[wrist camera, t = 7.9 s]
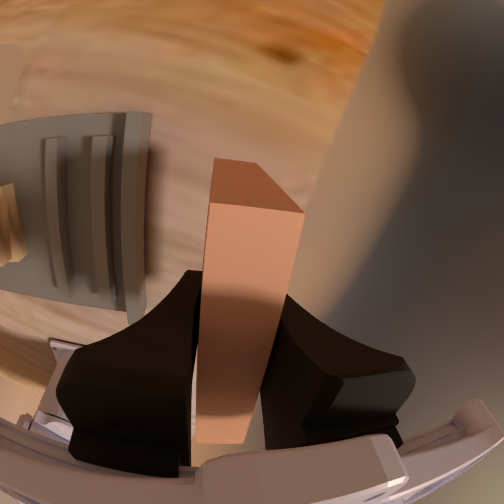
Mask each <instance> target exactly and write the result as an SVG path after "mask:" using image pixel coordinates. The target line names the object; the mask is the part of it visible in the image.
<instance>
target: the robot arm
mask: <svg viewBox="0 0 504 504" xmlns="http://www.w3.org/2000/svg"><path fill="white" fill-rule="evenodd" d="M202 274H203V271H194V270H187V271H186V272H185V273H184V275H183V276H182V278H181V279H180V281H179V282H178V283H177V285H176V286H175V287H174V288H173V289H172V290H171V292H170V293H169V294H168V295H167V296H166V297H165V298H164V299H163V300H162V301H161V302H160V303H159V304H158V305H157V306H156V307H155V308H154V309H152V310H151V311H150V312H149V313H148V314H146V315H145V316H144V317H143V318H141V319H140V320H138V321H137V322H135V323H133V324H132V325H130V326H129V327H127V328H125V329H124V330H122V331H120V332H118V333H116V334H114V335H112V336H110V337H107V338H105V339H103V340H100V341H98V342H95V343H92V344H89V345H86V346H79V345H75V344H70V343H65V342H61V341H57V340H51V341H50V346H51V349H52V351H53V354H54V356H55V359H56V361H57V365H56V367H55V370H54V372H53V374H52V376H51V378H50V381H49V383H48V385H47V387H46V390H45V392H44V394H43V397H42V399H41V401H40V404H39V406H38V409H37V411H36V413H35V415H34V417H33V419H32V416H31V415H30V414H28V413H27V414H26V415H20V417H19V419H18V422H17V424H16V425H15V424H13V423H11V422H9V421H7V420H5V419H3V418H0V490H1V491H3V492H5V493H7V494H8V495H10V496H12V497H14V499H15V500H16V501H17V503H18V504H411V503H413V502H415V501H417V500H419V499H420V498H422V497H424V496H426V495H428V494H430V493H431V492H433V491H435V490H437V489H438V488H440V487H442V486H443V485H445V484H447V483H448V482H450V481H452V480H453V479H455V478H456V477H457V476H459V475H461V474H462V473H464V472H465V471H467V470H468V469H469V468H471V467H472V466H473V465H475V464H476V463H477V462H478V461H480V460H481V459H482V458H483V457H484V456H486V455H487V454H488V453H489V452H490V451H491V450H492V449H494V448H495V447H496V446H497V445H498V444H499V443H500V442H501V441H502V440H503V439H504V433H503V432H502V430H501V429H500V427H499V425H498V424H497V423H496V421H495V419H494V418H493V416H492V415H491V414H490V412H489V411H488V409H487V408H486V406H485V405H484V403H483V402H482V400H481V399H480V398H477V399H475V400H473V401H471V402H469V403H467V404H465V405H464V406H462V407H461V408H460V409H459V410H458V411H457V412H456V413H455V414H454V416H453V417H452V419H450V420H448V421H445V422H443V423H441V424H439V425H436V426H434V427H431V428H429V429H426V430H424V431H421V432H419V433H416V434H413V435H411V436H408V437H405V438H402V439H401V437H400V435H399V433H398V431H397V429H396V427H395V426H396V425H397V424H398V423H399V420H398V418H397V416H396V412H397V411H398V409H400V407H401V406H402V405H403V404H404V402H405V401H406V399H407V398H408V397H409V396H410V394H411V392H412V390H413V388H414V385H415V382H416V379H415V375H414V373H413V372H412V370H411V369H410V367H409V366H408V364H407V363H406V361H405V360H404V359H403V357H400V356H396V355H393V354H389V353H386V352H383V351H380V350H376V349H374V348H371V347H369V346H366V345H364V344H361V343H359V342H357V341H355V340H352V339H350V338H348V337H347V336H345V335H343V334H341V333H339V332H337V331H335V330H334V329H331V328H330V327H329V326H327V325H326V324H324V323H322V322H321V321H319V320H318V319H316V318H315V317H314V316H312V315H311V314H310V313H309V312H307V311H306V310H305V309H303V308H302V307H301V306H300V305H299V304H297V303H296V302H295V301H294V300H293V299H292V298H291V297H290V296H288V294H286V297H285V301H284V305H283V309H282V313H281V316H280V320H279V324H278V328H277V331H276V335H275V339H274V342H273V346H272V349H271V353H270V356H269V360H268V363H267V367H266V370H265V374H264V377H263V381H262V384H261V387H260V396H261V404H262V414H263V424H264V434H265V447H266V450H265V451H252V452H243V453H235V454H226V455H223V456H220V457H217V458H214V459H211V460H208V461H206V462H205V463H203V464H202V465H201V466H200V467H191V395H192V378H193V371H194V364H195V358H196V351H197V345H198V335H199V318H200V302H201V288H202Z"/></svg>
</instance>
